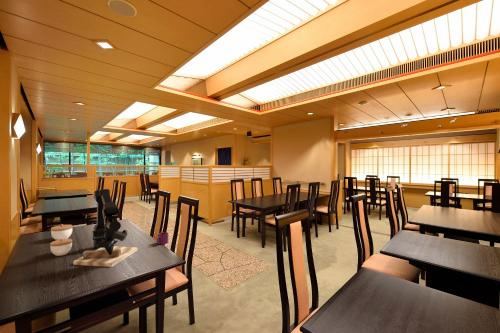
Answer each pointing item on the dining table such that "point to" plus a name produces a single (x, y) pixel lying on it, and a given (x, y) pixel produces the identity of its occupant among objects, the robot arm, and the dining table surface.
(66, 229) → the lidded bowl
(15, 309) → the dining table surface
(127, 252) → the stool board
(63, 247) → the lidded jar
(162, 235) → the mug
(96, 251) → the stool leg
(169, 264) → the dining table surface
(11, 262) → the dining table surface
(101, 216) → the robot arm
